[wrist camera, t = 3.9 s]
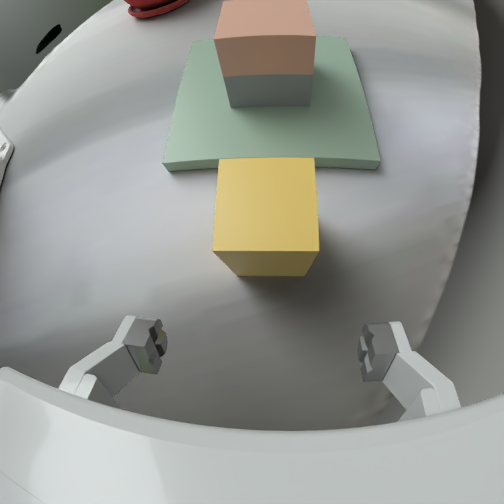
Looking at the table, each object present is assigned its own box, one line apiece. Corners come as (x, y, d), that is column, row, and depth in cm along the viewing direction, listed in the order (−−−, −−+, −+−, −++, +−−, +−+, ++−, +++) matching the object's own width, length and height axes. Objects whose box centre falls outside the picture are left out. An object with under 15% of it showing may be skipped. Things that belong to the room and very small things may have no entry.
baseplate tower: (168, 171, 24) (120, 103, 15) (195, 50, 28) (176, -10, 19) (375, 169, 22) (414, 96, 13) (343, 46, 26) (353, -16, 17)
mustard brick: (236, 275, 21) (212, 250, 14) (239, 212, 22) (219, 159, 15) (304, 276, 21) (319, 250, 13) (303, 211, 22) (313, 157, 14)
